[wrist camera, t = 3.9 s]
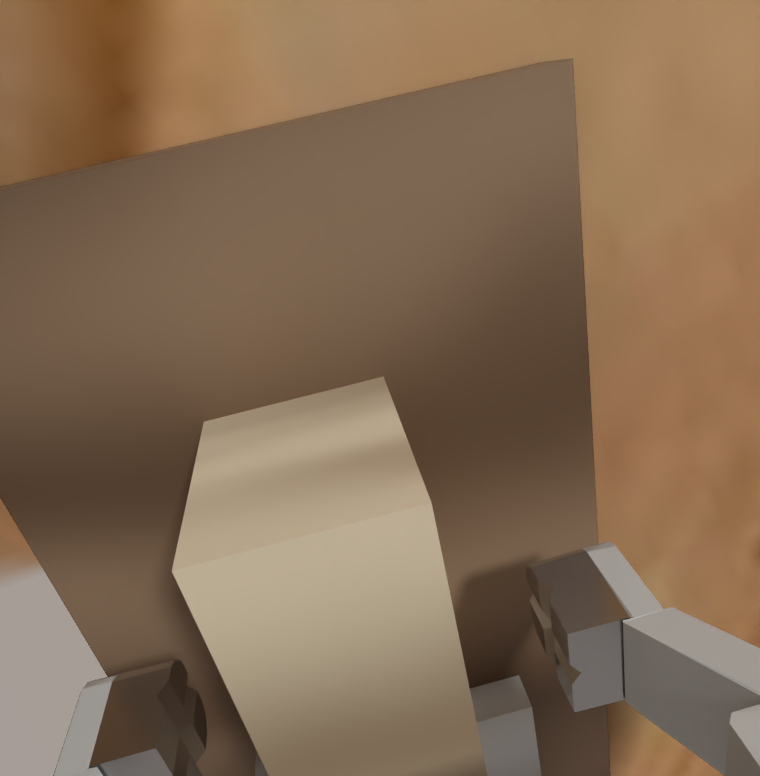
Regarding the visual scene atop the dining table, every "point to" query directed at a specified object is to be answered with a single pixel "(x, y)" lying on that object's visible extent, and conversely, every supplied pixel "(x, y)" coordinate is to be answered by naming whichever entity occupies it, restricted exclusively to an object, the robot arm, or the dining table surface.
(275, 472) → the beige upright plank
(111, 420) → the board
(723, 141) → the dining table surface
